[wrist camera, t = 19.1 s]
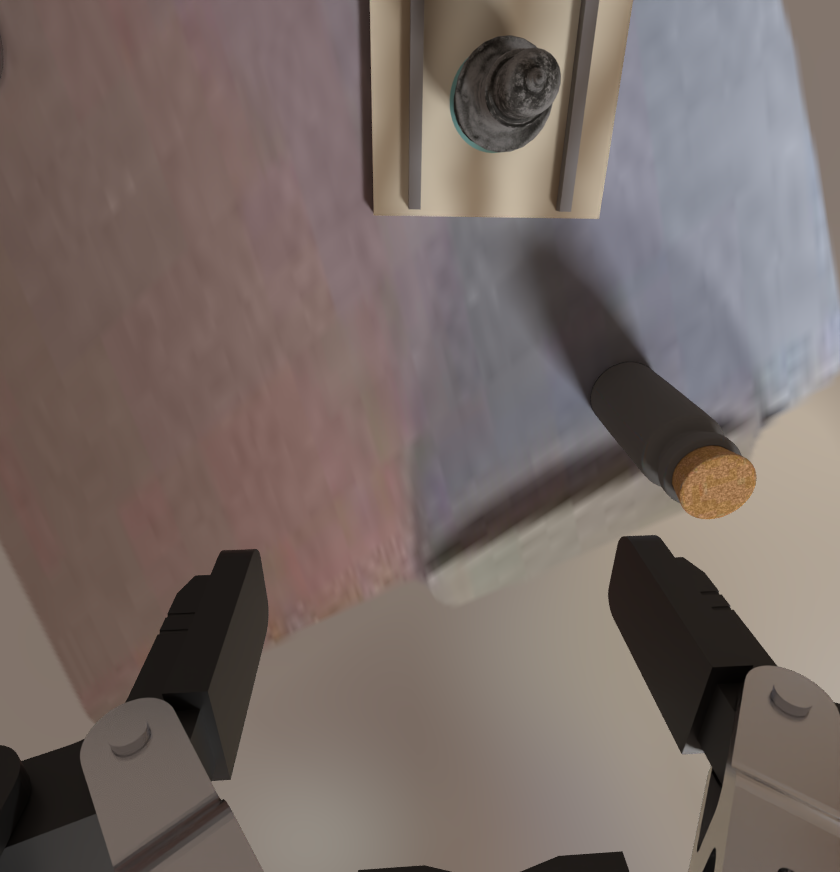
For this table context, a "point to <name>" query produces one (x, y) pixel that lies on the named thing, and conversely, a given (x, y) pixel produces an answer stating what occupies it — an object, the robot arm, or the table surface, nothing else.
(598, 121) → the board
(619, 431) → the bottle
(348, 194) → the table surface
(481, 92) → the salt shaker
